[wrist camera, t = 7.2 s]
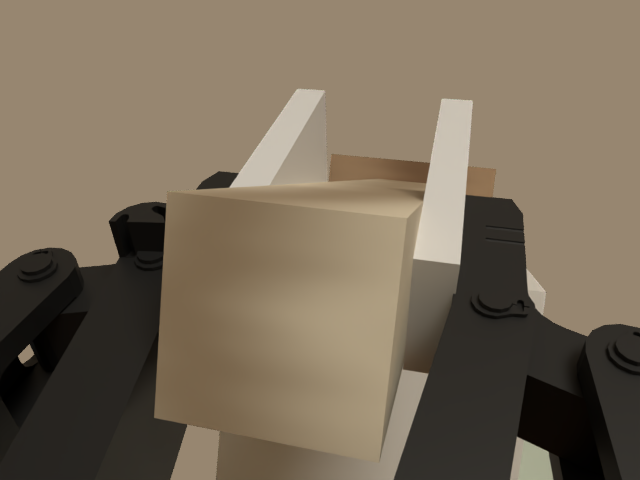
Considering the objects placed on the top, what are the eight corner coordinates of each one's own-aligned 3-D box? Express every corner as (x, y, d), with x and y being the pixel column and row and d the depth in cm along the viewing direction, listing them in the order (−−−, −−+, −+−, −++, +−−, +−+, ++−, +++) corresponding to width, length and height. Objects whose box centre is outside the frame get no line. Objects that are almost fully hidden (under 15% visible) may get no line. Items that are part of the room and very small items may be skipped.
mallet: (-8, 385, 8) (-2, 96, 8) (344, 223, 35) (351, 157, 35) (599, 507, 6) (661, 148, 6) (479, 238, 34) (488, 169, 33)
